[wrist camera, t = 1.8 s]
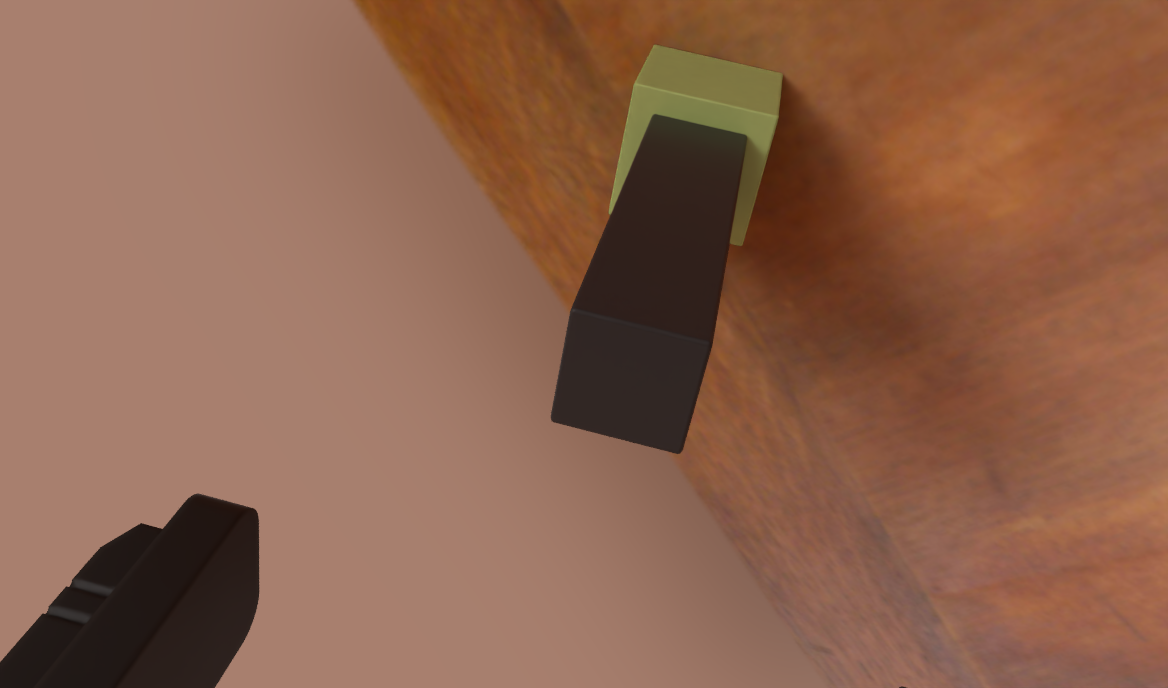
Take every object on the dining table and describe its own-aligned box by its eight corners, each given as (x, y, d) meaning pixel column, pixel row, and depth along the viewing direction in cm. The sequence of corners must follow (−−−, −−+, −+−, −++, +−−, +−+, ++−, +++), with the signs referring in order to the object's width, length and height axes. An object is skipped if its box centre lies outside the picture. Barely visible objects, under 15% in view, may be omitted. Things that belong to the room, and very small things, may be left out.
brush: (628, 165, 30) (511, 440, 19) (653, 43, 28) (540, 268, 17) (749, 193, 30) (706, 491, 18) (783, 72, 28) (758, 321, 16)
